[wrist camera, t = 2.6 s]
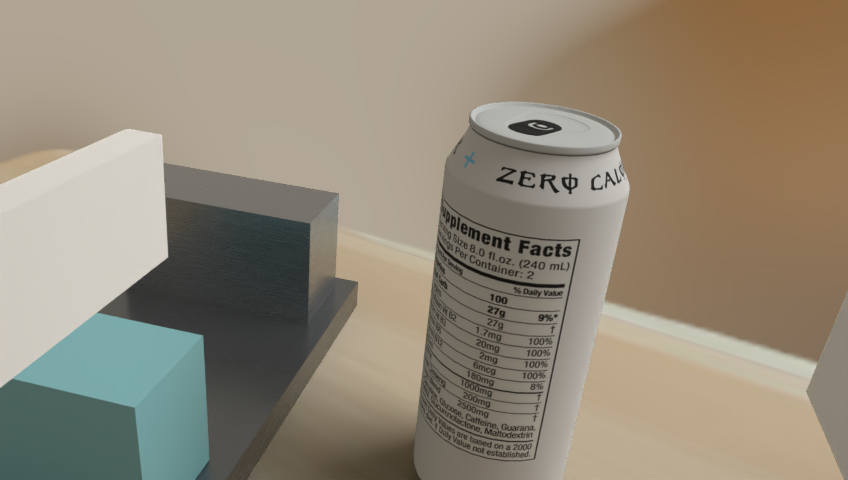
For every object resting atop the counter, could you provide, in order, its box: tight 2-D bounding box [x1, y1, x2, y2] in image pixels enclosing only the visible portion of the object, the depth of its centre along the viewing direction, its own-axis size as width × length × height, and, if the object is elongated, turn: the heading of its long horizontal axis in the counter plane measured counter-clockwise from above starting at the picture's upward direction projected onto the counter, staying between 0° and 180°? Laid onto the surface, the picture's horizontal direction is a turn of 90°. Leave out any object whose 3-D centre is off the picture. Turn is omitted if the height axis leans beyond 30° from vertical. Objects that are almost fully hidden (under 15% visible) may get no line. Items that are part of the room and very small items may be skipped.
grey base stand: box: [97, 163, 358, 480], centre depth 30 cm, size 12×22×7 cm, turn 167°
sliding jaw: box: [0, 313, 209, 480], centre depth 25 cm, size 10×4×6 cm, turn 77°
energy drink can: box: [413, 102, 630, 480], centre depth 26 cm, size 6×6×15 cm
